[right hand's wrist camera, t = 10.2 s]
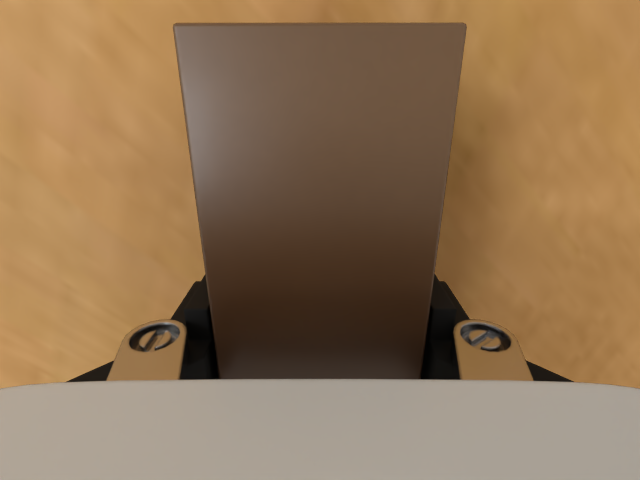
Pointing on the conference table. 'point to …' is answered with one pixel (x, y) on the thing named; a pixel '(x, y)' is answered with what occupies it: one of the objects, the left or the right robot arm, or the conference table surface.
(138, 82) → the conference table surface
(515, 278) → the conference table surface
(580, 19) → the conference table surface
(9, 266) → the conference table surface
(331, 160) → the bar
